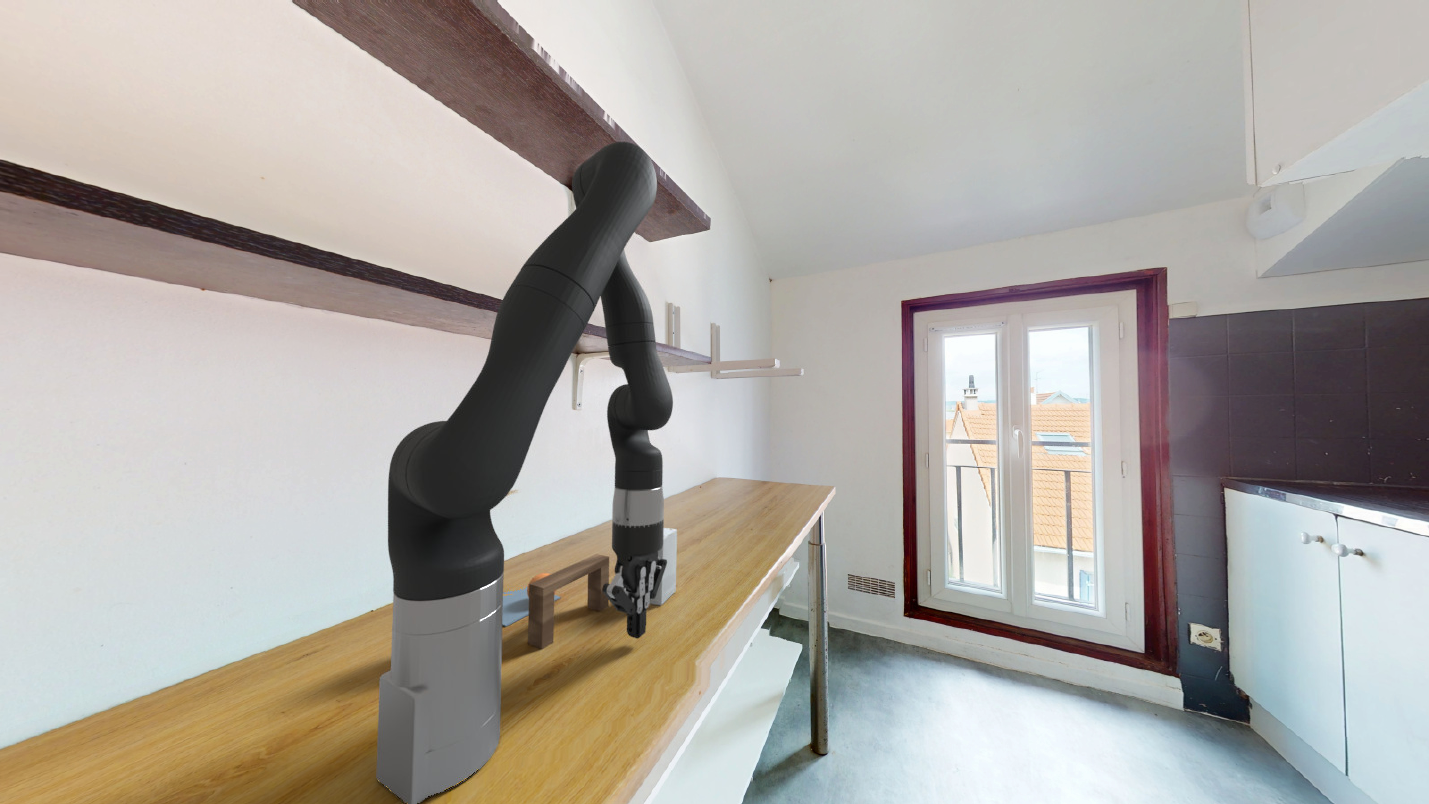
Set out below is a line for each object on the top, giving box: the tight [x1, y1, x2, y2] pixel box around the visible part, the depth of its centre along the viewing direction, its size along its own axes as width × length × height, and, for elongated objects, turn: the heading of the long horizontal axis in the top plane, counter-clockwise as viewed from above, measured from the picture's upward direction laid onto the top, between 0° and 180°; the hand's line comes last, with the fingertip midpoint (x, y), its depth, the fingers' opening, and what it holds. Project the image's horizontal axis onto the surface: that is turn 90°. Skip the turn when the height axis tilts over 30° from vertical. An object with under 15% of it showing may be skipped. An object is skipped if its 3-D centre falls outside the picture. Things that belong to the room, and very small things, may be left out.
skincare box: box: [649, 527, 678, 606], centre depth 73 cm, size 6×4×12 cm
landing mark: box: [502, 586, 562, 627], centre depth 70 cm, size 11×11×1 cm
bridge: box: [527, 553, 610, 650], centre depth 64 cm, size 3×14×9 cm, turn 154°
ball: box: [526, 572, 558, 597], centre depth 70 cm, size 5×5×5 cm
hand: (636, 634), depth 58 cm, fingers closed
